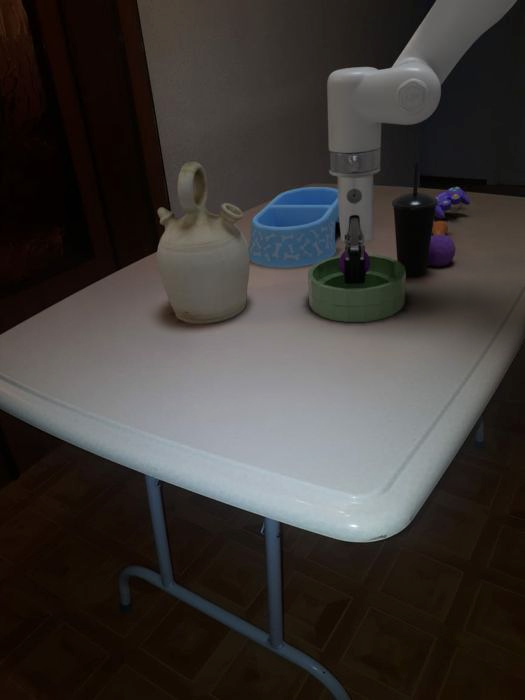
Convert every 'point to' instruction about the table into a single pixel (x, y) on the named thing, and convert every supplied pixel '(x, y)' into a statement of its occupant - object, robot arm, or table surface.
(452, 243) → the maraca
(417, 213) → the drinking cup
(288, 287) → the table surface
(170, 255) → the jug
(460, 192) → the game controller
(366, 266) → the ball
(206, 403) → the table surface
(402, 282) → the bowl
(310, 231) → the dog bowl
